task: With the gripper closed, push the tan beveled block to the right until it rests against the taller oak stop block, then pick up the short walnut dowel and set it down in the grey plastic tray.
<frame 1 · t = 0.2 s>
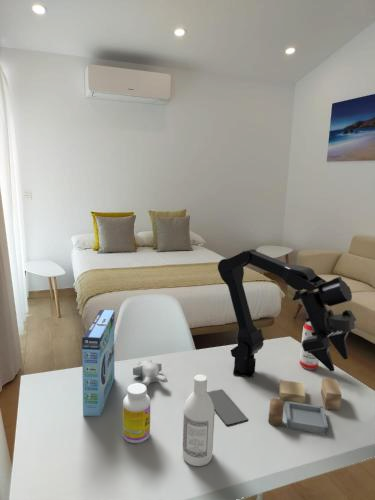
hand: (339, 364, 99), 15 cm above the table, tool tilted 30°, fingers open, 9 cm apart
stop block: (329, 401, 107), on the table
smartphone: (224, 409, 103), on the table
supplement bottle: (136, 435, 91), on the table
tray: (305, 420, 98), on the table
bath foam: (197, 456, 84), on the table
tan beveled block: (291, 396, 109), on the table
dowel: (275, 422, 97), on the table
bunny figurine: (149, 380, 116), on the table
beer can: (308, 366, 127), on the table
light blue cardboard box: (100, 396, 106), on the table
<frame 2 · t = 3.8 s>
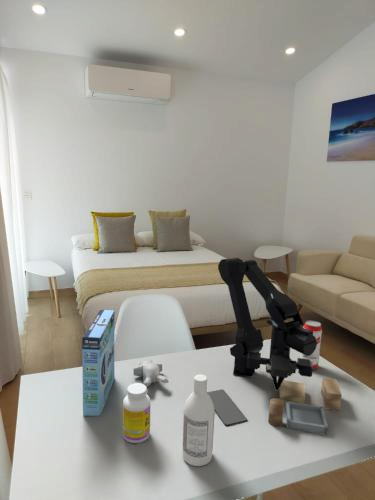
hand: (276, 389, 110), 1 cm above the table, tool pointing down, fingers closed
tan beveled block: (291, 396, 109), on the table, touching gripper
everything else where it was.
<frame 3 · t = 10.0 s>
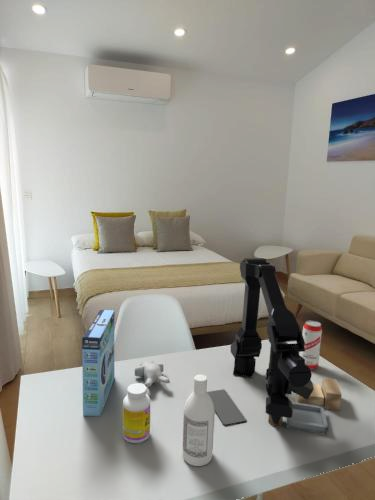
hand: (275, 418, 97), 1 cm above the table, tool pointing down, fingers closed on dowel, 4 cm apart
tan beveled block: (308, 398, 109), on the table
dowel: (275, 422, 97), on the table, touching gripper
everything else where it was.
when the fingers open (3 cm above the table, at t = 13.4 s): dowel drops 2 cm, resting on tray.
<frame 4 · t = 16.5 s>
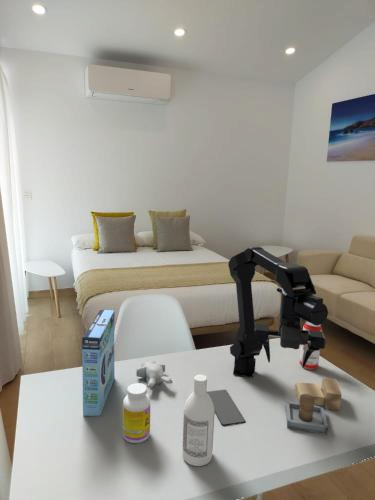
hand: (285, 364, 102), 13 cm above the table, tool pointing down, fingers open, 9 cm apart
dowel: (305, 417, 98), point 1 cm above the table, touching tray
at the end: tan beveled block 0.4 cm from the target spot, on the table; dowel inside the target area on the tray (0.0 cm from its centre), point 0.8 cm above the tray's base; dowel tilted 0° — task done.
